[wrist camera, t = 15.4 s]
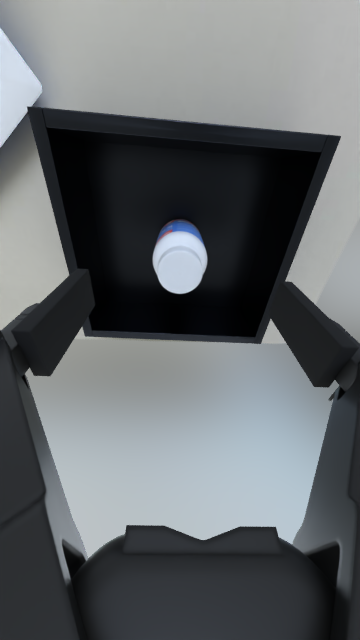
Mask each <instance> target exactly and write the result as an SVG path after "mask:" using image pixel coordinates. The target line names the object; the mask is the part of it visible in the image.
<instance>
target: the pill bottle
mask: <svg viewBox="0 0 360 640" xmlns="http://www.w3.org/2000/svg"><path fill="white" fill-rule="evenodd" d="M206 266H207V253H206V249H205V246H204V243H203V240H202V237H201V235H200V232H199V230H198V229H197V227H196V226H195V225H194V224H192V223H191V222H189V221H187V220H184V219H176V220H172V221H170V222H168V223H167V224H166V225H165V226H164V227H163V228H162V229H161V231H160V233H159V236H158V239H157V242H156V245H155V249H154V253H153V267H154V270H155V272H156V274H157V276H158V279H159V282H160V283H161V285H162V286H163V287H164V288H165V289H166V290H168V291H170V292H172V293H177V294H183V293H187V292H190V291H192V290H193V289H195V288H196V287H197V286H198V285H199V283H200V281H201V279H202V275H203V274H204V272H205V270H206Z"/></svg>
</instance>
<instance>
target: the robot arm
mask: <svg viewBox="0 0 360 640" xmlns="http://www.w3.org/2000/svg"><path fill="white" fill-rule="evenodd" d="M94 306H95V300H94V294H93V289H92V284H91V279H90V274H89V269H76V270H75V271H74V272H73V273H72V274H71V275H70V276H69V277H67V278H66V279H65V280H64V281H63V282H62V283H61V284H60V285H59V286H58V287H57V288H56V289H55V290H54V291H53V292H51V293H50V294H49V295H48V296H47V297H46V298H45V299H44V300H43V301H42V302H41V303H36V304H34V305H32V306H30V307H28V308H26V309H25V310H24V311H23V312H22V313H21V314H20V315H18V316H17V317H16V318H15V320H13V321H12V322H10V323H9V324H8V325H7V326H6V327H5V328H4V329H2V330H0V640H360V343H358V342H357V341H356V340H355V339H354V338H353V337H352V336H350V334H349V333H348V332H347V331H345V329H344V328H343V327H342V326H340V325H339V324H338V323H336V322H335V321H333V320H331V319H329V318H328V317H327V316H326V315H325V314H324V313H323V312H322V311H321V310H320V309H319V308H318V307H317V306H316V305H315V304H314V303H313V302H312V301H311V300H310V299H309V298H308V297H307V296H306V295H304V294H303V293H302V292H301V291H300V290H299V289H298V288H297V287H296V286H295V285H294V284H293V283H292V282H284V281H281V282H280V285H279V287H278V290H277V293H276V295H275V298H274V301H273V303H272V306H271V309H270V311H269V314H268V315H269V316H270V318H271V319H272V321H273V322H274V324H275V326H276V327H277V329H278V330H279V332H280V334H281V335H282V337H283V338H284V340H285V341H286V343H287V345H288V346H289V348H290V349H291V351H292V353H293V354H294V356H295V357H296V359H297V360H298V362H299V364H300V365H301V367H302V368H303V370H304V372H305V373H306V375H307V376H308V378H309V379H310V381H311V383H312V384H313V386H314V387H329V386H330V385H331V384H332V382H333V381H334V380H336V381H337V383H338V384H339V385H340V386H339V387H338V388H337V389H336V391H335V392H334V393H333V394H332V395H331V397H330V398H329V400H330V401H331V400H332V399H333V404H332V408H331V412H330V416H329V420H328V424H327V429H326V432H325V436H324V440H323V444H322V449H321V453H320V457H319V461H318V465H317V469H316V473H315V477H314V482H313V486H312V489H311V494H310V498H309V502H308V506H307V510H306V514H305V518H304V521H303V523H302V526H301V527H300V529H299V531H298V532H297V534H296V536H295V538H294V541H293V544H290V543H288V542H287V541H284V540H283V539H281V538H279V537H278V533H277V530H276V527H238V528H235V529H233V530H230V531H228V532H225V533H222V534H220V535H218V536H215V537H212V538H210V539H207V540H199V539H197V538H194V537H191V536H189V535H186V534H184V533H181V532H179V531H176V530H174V529H171V528H168V527H166V526H140V525H139V526H138V525H137V526H136V525H127V526H126V533H125V534H124V535H121V536H118V537H116V538H115V539H113V540H111V541H109V542H108V543H106V544H105V545H103V546H102V547H101V548H99V549H98V550H97V551H96V552H95V553H94V554H93V555H92V556H91V557H89V558H88V556H87V554H86V551H85V547H84V545H83V542H82V539H81V537H80V534H79V532H78V530H77V528H76V525H75V523H74V521H73V518H72V516H71V513H70V509H69V506H68V503H67V500H66V497H65V494H64V491H63V488H62V485H61V482H60V479H59V475H58V472H57V469H56V466H55V463H54V460H53V457H52V454H51V451H50V448H49V445H48V441H47V438H46V435H45V432H44V429H43V426H42V423H41V420H40V417H39V414H38V411H37V408H36V404H35V401H34V398H33V395H32V392H31V389H30V386H29V383H28V380H27V377H26V375H25V372H26V371H27V370H28V369H29V367H30V369H31V371H32V372H33V375H34V376H50V375H51V374H52V373H53V371H54V370H55V368H56V366H57V365H58V363H59V362H60V360H61V359H62V357H63V355H64V354H65V352H66V351H67V349H68V347H69V346H70V344H71V343H72V341H73V340H74V338H75V336H76V335H77V333H78V332H79V330H80V329H81V327H82V325H83V324H84V322H85V321H86V319H87V317H88V316H89V314H90V313H91V311H92V310H93V308H94Z"/></svg>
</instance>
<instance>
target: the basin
mask: <svg viewBox="0 0 360 640" xmlns="http://www.w3.org/2000/svg"><path fill="white" fill-rule="evenodd" d="M27 110H28V114H29V118H30V122H31V125H32V129H33V133H34V137H35V141H36V145H37V149H38V153H39V157H40V161H41V165H42V169H43V173H44V177H45V181H46V185H47V188H48V192H49V196H50V200H51V204H52V208H53V212H54V216H55V220H56V224H57V228H58V232H59V236H60V240H61V244H62V248H63V252H64V255H65V259H66V263H67V267H68V271H69V275H71V274H72V273H73V272H74V271H75V270H76V269H89V274H90V279H91V284H92V289H93V294H94V300H95V306H94V308H93V310H92V311H91V313H90V314H89V316H88V317H87V319H86V321H85V322H84V324H83V325H82V326H83V330H84V334H85V336H89V337H112V338H136V339H160V340H184V341H207V342H232V343H254V344H261V342H262V339H263V337H264V334H265V332H266V329H267V326H268V324H269V321H270V319H271V318H270V316H269V315H268V314H269V311H270V309H271V306H272V303H273V301H274V298H275V295H276V293H277V290H278V287H279V285H280V282H281V281H284V282H285V280H286V277H287V275H288V272H289V270H290V267H291V264H292V262H293V259H294V257H295V254H296V251H297V249H298V246H299V244H300V241H301V239H302V236H303V233H304V231H305V228H306V226H307V223H308V221H309V218H310V215H311V213H312V210H313V208H314V205H315V202H316V200H317V197H318V195H319V192H320V190H321V187H322V184H323V182H324V179H325V177H326V174H327V171H328V169H329V166H330V164H331V161H332V159H333V156H334V153H335V151H336V148H337V146H338V143H339V140H340V138H341V136H334V135H323V134H313V133H302V132H292V131H281V130H271V129H260V128H250V127H240V126H229V125H219V124H208V123H198V122H187V121H177V120H166V119H156V118H145V117H135V116H124V115H114V114H103V113H93V112H82V111H72V110H62V109H51V108H40V107H30V106H27ZM176 219H184V220H187V221H189V222H191V223H192V224H194V225H195V226H196V227H197V229H198V230H199V232H200V235H201V237H202V240H203V243H204V246H205V249H206V253H207V266H206V270H205V272H204V274H203V275H202V279H201V281H200V283H199V285H198V286H197V287H196V288H195V289H193V290H192V291H190V292H187V293H183V294H177V293H172V292H170V291H168V290H166V289H165V288H164V287H163V286H162V285H161V283H160V282H159V279H158V276H157V274H156V272H155V270H154V267H153V253H154V249H155V245H156V242H157V239H158V236H159V233H160V231H161V229H162V228H163V227H164V226H165V225H166V224H167V223H168V222H170V221H172V220H176Z"/></svg>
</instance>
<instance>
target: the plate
mask: <svg viewBox="0 0 360 640" xmlns="http://www.w3.org/2000/svg"><path fill="white" fill-rule="evenodd" d="M41 93H42V86H41V83H40V82H39V80H38V79H37V77H36V76H35V75H34V73H33V72H32V71H31V69H30V68H29V66H28V65H27V64H26V62H25V61H24V60H23V58H22V57H21V55H20V54H19V53H18V51H17V50H16V49H15V47H14V46H13V45H12V43H11V42H10V40H9V39H8V38H7V36H6V35H5V34H4V32H3V31H2V29H1V28H0V147H1V146H2V145H3V143H4V142H5V141H6V139H7V138H8V137H9V135H10V134H11V133H12V132H13V130H14V129H15V128H16V126H17V125H18V124H19V122H20V121H21V120H22V118H23V117H24V116H25V114H26V113H27V112H28V110H27V106H30V107H31V106H32V105H33V104H34V102H35V101H36V100H37V98H38V97H39V96H40V94H41Z"/></svg>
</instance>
